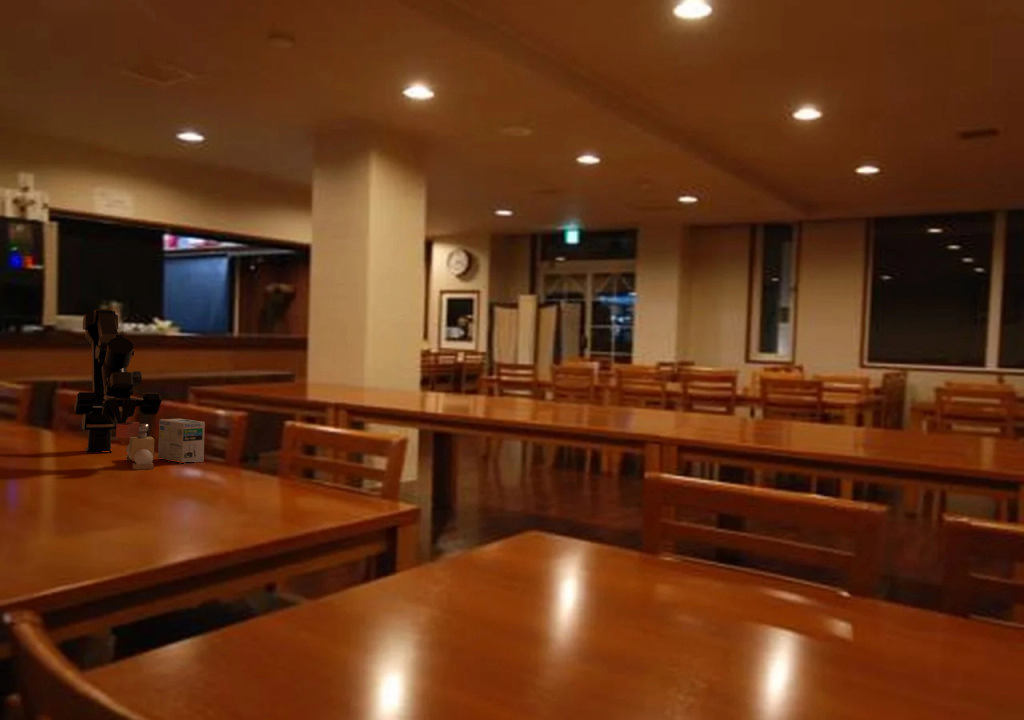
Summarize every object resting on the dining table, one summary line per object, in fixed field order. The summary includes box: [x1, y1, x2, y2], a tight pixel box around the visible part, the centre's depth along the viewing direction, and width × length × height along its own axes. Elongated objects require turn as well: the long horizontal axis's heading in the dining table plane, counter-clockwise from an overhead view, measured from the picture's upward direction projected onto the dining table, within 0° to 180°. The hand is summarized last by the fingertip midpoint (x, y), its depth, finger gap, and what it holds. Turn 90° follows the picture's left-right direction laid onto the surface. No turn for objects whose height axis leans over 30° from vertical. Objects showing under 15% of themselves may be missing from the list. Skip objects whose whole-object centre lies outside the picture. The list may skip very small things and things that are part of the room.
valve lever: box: [115, 421, 150, 439], centre depth 197 cm, size 3×13×3 cm, turn 2°
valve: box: [125, 431, 155, 470], centre depth 205 cm, size 17×5×8 cm, turn 32°
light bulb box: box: [157, 418, 206, 463], centre depth 214 cm, size 11×7×11 cm, turn 58°
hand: (122, 430), depth 195 cm, fingers closed
